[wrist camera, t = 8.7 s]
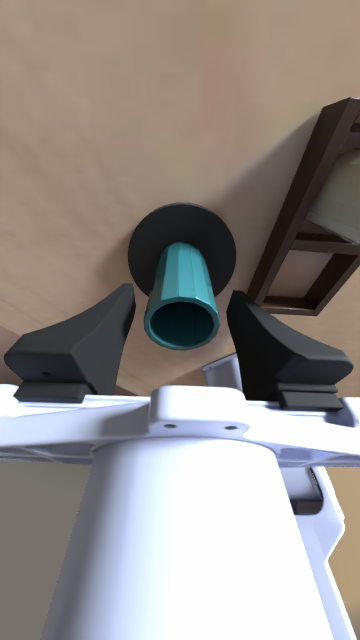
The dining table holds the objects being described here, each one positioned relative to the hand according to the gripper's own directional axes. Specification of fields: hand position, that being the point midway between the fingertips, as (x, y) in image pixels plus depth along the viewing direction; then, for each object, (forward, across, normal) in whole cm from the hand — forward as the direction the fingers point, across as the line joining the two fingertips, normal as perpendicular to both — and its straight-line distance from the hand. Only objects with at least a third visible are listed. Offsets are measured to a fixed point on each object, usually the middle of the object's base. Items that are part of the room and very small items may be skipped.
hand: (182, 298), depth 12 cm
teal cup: (+5, 0, 0) cm, 5 cm away
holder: (+5, -11, -3) cm, 13 cm away
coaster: (+5, 0, 0) cm, 5 cm away
